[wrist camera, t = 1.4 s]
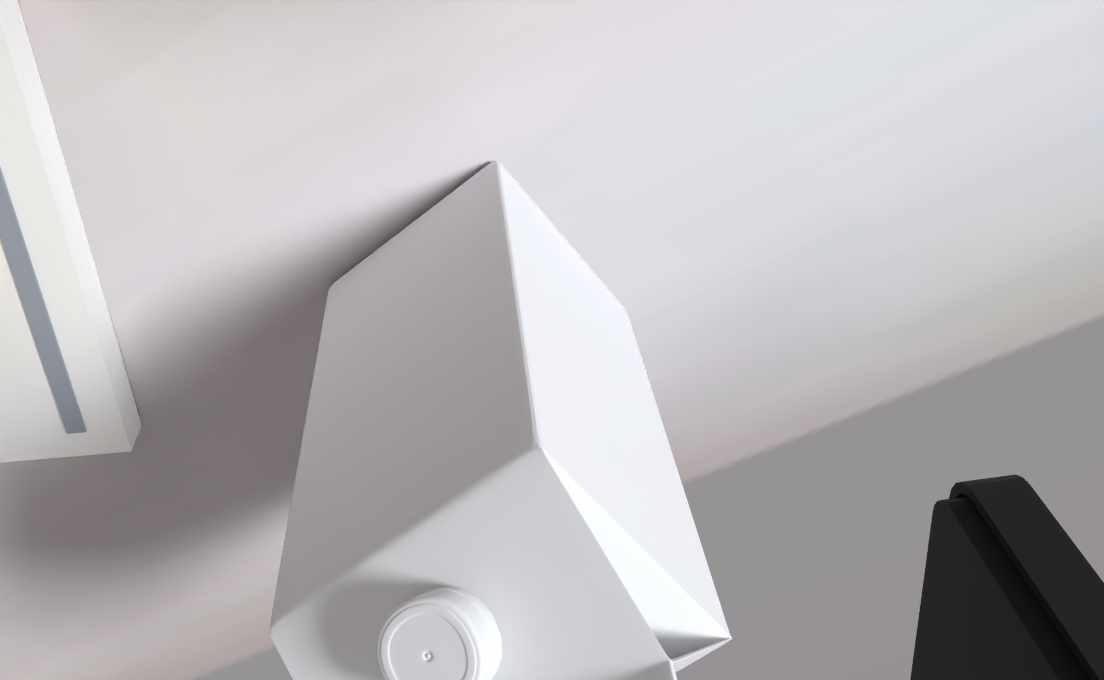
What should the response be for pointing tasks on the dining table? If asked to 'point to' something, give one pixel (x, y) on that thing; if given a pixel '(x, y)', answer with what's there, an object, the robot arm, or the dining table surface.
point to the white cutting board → (49, 287)
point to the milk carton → (486, 470)
